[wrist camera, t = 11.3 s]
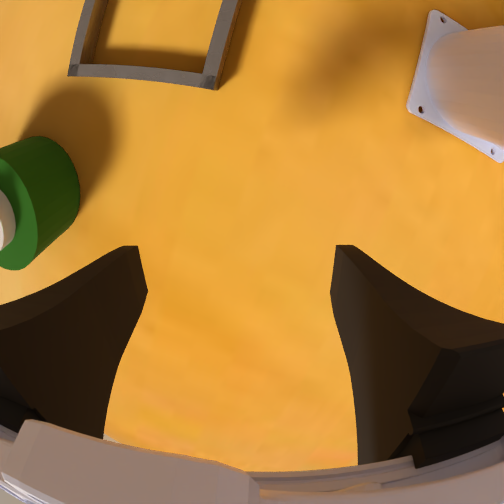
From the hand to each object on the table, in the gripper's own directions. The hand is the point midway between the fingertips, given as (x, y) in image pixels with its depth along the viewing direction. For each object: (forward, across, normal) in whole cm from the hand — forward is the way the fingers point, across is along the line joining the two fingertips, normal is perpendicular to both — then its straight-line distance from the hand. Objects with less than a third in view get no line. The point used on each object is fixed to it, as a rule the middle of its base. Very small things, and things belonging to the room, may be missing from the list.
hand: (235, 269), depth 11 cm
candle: (+10, +16, -1) cm, 19 cm away
